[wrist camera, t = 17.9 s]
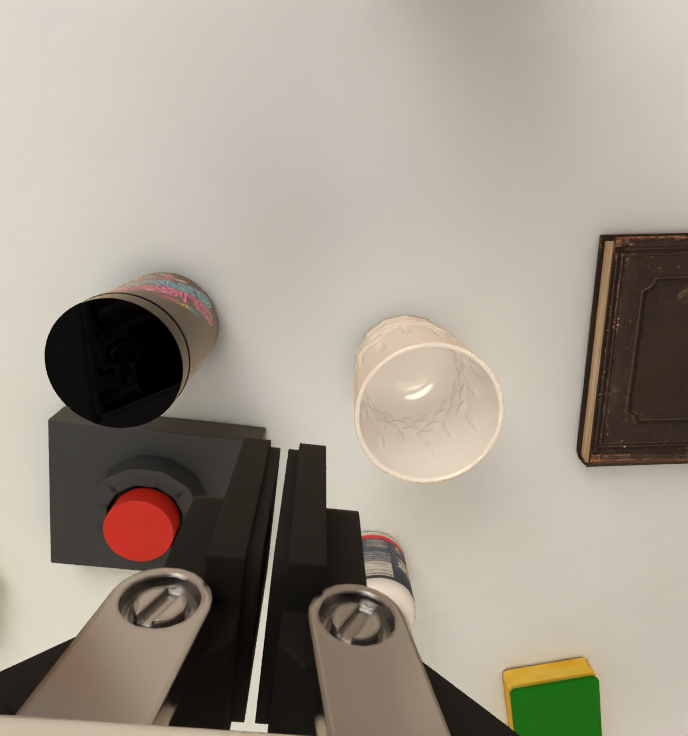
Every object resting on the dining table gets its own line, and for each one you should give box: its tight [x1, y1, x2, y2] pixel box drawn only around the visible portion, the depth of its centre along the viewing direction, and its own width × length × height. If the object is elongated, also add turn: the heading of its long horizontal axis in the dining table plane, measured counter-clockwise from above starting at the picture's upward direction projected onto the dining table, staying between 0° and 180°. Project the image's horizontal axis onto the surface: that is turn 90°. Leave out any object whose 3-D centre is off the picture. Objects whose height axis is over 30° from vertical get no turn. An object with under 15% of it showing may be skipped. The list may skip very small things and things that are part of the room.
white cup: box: [354, 315, 504, 483], centre depth 34 cm, size 8×8×10 cm
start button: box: [103, 488, 180, 561], centre depth 36 cm, size 4×4×2 cm
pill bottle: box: [361, 532, 416, 635], centre depth 39 cm, size 5×5×9 cm
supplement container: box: [45, 272, 218, 428], centre depth 33 cm, size 7×7×10 cm
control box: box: [48, 407, 266, 571], centre depth 39 cm, size 11×14×4 cm
